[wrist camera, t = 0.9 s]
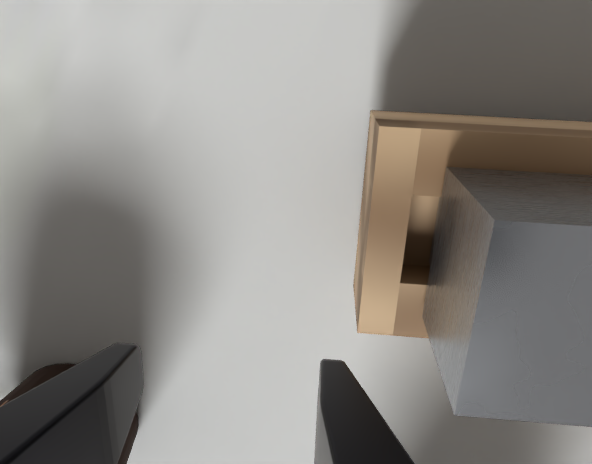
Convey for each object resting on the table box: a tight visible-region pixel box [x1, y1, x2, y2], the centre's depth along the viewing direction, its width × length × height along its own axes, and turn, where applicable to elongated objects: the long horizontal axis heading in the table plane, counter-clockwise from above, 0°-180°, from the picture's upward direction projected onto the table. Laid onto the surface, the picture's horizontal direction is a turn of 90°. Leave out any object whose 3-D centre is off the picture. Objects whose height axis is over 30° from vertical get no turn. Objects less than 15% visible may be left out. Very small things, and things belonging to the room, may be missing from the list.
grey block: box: [422, 167, 592, 427], centre depth 13 cm, size 5×5×6 cm
